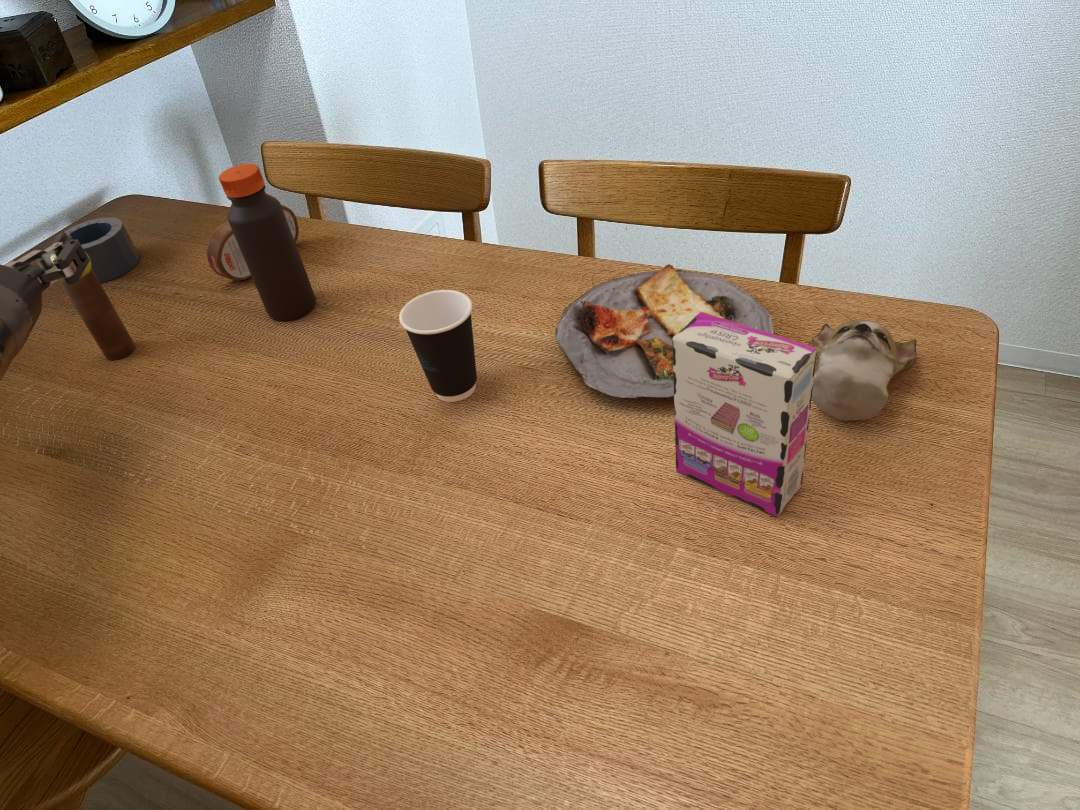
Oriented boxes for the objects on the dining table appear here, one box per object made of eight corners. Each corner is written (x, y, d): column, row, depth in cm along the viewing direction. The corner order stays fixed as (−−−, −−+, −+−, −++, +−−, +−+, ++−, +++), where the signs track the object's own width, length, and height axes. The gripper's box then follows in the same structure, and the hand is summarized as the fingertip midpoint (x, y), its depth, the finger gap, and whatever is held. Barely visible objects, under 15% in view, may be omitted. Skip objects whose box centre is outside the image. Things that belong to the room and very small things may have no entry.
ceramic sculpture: (790, 352, 76) (826, 277, 87) (782, 422, 82) (816, 344, 92) (911, 375, 72) (933, 294, 82) (893, 448, 77) (917, 363, 87)
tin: (295, 239, 127) (277, 189, 121) (309, 243, 125) (291, 193, 119) (218, 288, 118) (195, 237, 113) (231, 293, 116) (208, 241, 111)
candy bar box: (804, 485, 76) (821, 346, 65) (778, 520, 73) (792, 380, 62) (700, 441, 82) (700, 307, 71) (673, 471, 79) (669, 337, 68)
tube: (98, 289, 122) (79, 255, 119) (61, 277, 127) (41, 243, 123) (152, 257, 128) (135, 223, 124) (114, 246, 133) (97, 213, 129)
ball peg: (116, 365, 106) (52, 260, 96) (95, 357, 108) (30, 253, 98) (145, 345, 109) (87, 240, 99) (124, 337, 111) (65, 234, 101)
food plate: (533, 317, 102) (529, 293, 100) (698, 264, 106) (698, 241, 104) (614, 438, 84) (611, 412, 81) (809, 369, 88) (812, 343, 86)
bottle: (327, 299, 112) (277, 163, 99) (293, 326, 108) (236, 188, 95) (292, 290, 115) (240, 157, 102) (257, 316, 111) (198, 181, 98)
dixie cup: (497, 368, 95) (481, 289, 88) (478, 413, 89) (459, 333, 82) (434, 365, 97) (413, 288, 90) (412, 409, 91) (387, 330, 84)
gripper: (39, 260, 74) (74, 201, 87) (-120, 307, 73) (-60, 240, 86) (82, 328, 79) (110, 263, 92) (-66, 374, 77) (-17, 301, 90)
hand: (28, 252), depth 89 cm, fingers open, 8 cm apart
